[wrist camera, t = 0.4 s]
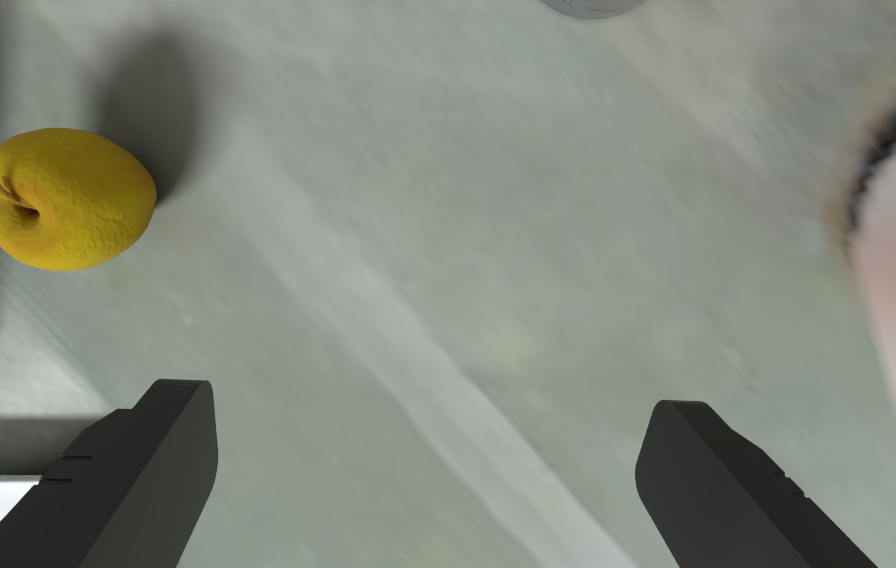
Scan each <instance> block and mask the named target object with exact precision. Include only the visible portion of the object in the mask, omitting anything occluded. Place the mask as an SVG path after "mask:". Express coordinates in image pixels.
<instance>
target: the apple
mask: <svg viewBox="0 0 896 568" xmlns="http://www.w3.org/2000/svg"><path fill="white" fill-rule="evenodd" d="M156 199H157V193H156V186H155V183H154V181H153V179H152V177H151V175H150V174H149V172H148V171H147V170H146V169H145V167H144V166H143V165H142V164H141V163H140V162H139V161H138V160H137V159H136V158H135V157H134V156H133V155H132V154H131V153H130V152H128V151H127V150H125V149H123V148H121V147H119V146H118V145H116V144H115V143H113V142H112V141H110V140H108V139H107V138H104V137H102V136H99V135H97V134H95V133H92V132H87V131H83V130H76V129H69V128H45V129H40V130H35V131H31V132H27V133H23V134H20V135H17V136H14V137H12V138H10V139H9V140H7V141H6V142H5V143H3V144H2V145H1V146H0V247H1V248H2V249H3V250H5V251H6V252H7V253H8V254H10V255H11V256H12V257H14V258H16V259H17V260H19V261H21V262H23V263H25V264H28V265H31V266H34V267H38V268H42V269H47V270H55V271H72V270H81V269H86V268H89V267H93V266H96V265H99V264H102V263H104V262H106V261H108V260H110V259H112V258H114V257H116V256H117V255H119V254H120V253H122V252H123V251H125V250H126V249H128V248H129V247H130V246H132V245H133V244H134V243H135V242H136V241H137V240H138V239H139V238H140V237H141V235H142V234H143V233H144V231H145V230H146V228H147V227H148V224H149V222H150V219H151V217H152V214H153V211H154V207H155V203H156Z"/></svg>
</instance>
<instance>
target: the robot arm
mask: <svg viewBox="0 0 896 568" xmlns="http://www.w3.org/2000/svg"><path fill="white" fill-rule="evenodd" d="M542 1H543V2H544V3H545V4H547V5H548V6H550V7H552V8H554V9H556V10H558V11H560V12H561V13H563V14H566V15H570V16H574V17H579V18H583V19H603V18H607V17H611V16H615V15H620V14H623V13H625V12H627V11H629V10H631V9H633V8H635V7H637V6H639V5H641V4H643V3H644V2H646V1H648V0H542ZM217 465H218V446H217V434H216V423H215V411H214V399H213V390H212V386H211V384H210V382H209V381H203V380H177V379H158V380H157V381H155V382H154V383H153V384H152V385H151V387H150V388H149V389H148V390H147V392H146V393H145V394H144V395H143V396H142V398H141V399H140V400H139V401H138V402H137V404H136V405H135V406H134V407H133V408H132V409H117V410H115V411H113V412H112V413H110V414H109V415H107V416H105V417H104V418H102V419H101V420H99V421H97V422H96V423H94V424H93V425H91V426H89V427H88V428H86V429H84V430H83V432H82V433H81V434H80V435H79V436H78V437H77V438H76V439H75V440H74V441H73V442H72V444H71V445H70V446H69V447H68V448H67V449H66V450H65V451H64V452H63V453H62V454H61V456H60V460H59V461H55V462H54V463H53V464H52V465H51V466H50V468H49V469H48V470H47V471H46V472H45V473H44V474H43V475H42V476H41V477H40V480H39V483H38V485H33V486H32V487H31V488H30V489H29V491H28V492H27V493H26V494H25V495H24V496H23V497H22V498H21V499H20V500H19V501H18V503H17V504H16V505H15V506H14V507H13V508H12V509H11V510H10V511H9V512H8V513H7V515H6V516H5V517H4V518H3V519H2V520H1V521H0V568H176V566H177V564H178V562H179V559H180V557H181V555H182V553H183V551H184V549H185V547H186V544H187V542H188V540H189V538H190V536H191V534H192V532H193V529H194V527H195V525H196V523H197V521H198V519H199V517H200V514H201V512H202V510H203V508H204V506H205V504H206V501H207V499H208V497H209V495H210V493H211V490H212V488H213V485H214V481H215V477H216V472H217ZM635 480H636V486H637V490H638V494H639V496H640V499H641V501H642V502H643V504H644V506H645V508H646V509H647V511H648V513H649V515H650V516H651V518H652V520H653V522H654V523H655V525H656V527H657V529H658V530H659V532H660V534H661V536H662V537H663V539H664V541H665V543H666V544H667V546H668V548H669V550H670V551H671V553H672V555H673V556H674V558H675V560H676V562H677V563H678V565H679V567H680V568H878V567H877V566H876V565H875V564H874V563H873V562H872V561H871V560H870V559H869V558H868V557H867V556H866V555H865V554H864V553H863V552H862V551H861V550H860V549H859V548H858V547H857V546H856V545H855V544H854V543H853V542H852V541H851V540H850V539H849V538H848V537H847V536H846V535H845V534H844V533H843V532H842V530H841V529H840V528H839V527H838V526H837V525H836V524H835V523H834V522H833V521H832V520H831V519H830V518H829V517H828V516H827V515H826V514H825V513H824V512H823V511H822V510H821V509H820V508H819V507H818V506H817V505H816V504H815V503H814V502H813V501H812V500H811V499H810V498H805V496H804V492H803V491H802V490H801V489H800V488H799V487H798V486H797V485H796V484H795V483H794V482H793V481H792V480H791V479H790V478H788V477H785V472H784V471H783V470H782V469H781V468H780V467H779V466H778V465H777V464H776V463H775V462H774V461H773V460H772V459H771V458H770V457H769V456H768V455H767V454H766V453H765V452H764V451H763V450H762V449H760V448H759V447H757V446H756V445H754V444H753V443H752V442H750V441H749V440H747V439H746V438H744V437H743V436H741V435H740V434H738V433H737V432H735V431H734V430H732V429H731V428H730V427H729V426H728V425H727V424H726V423H725V422H724V421H723V420H722V419H721V418H720V416H719V415H718V414H717V413H716V412H715V411H714V410H713V409H712V408H711V407H710V406H709V405H708V404H706V403H704V402H701V401H678V400H661V401H659V402H658V403H657V404H656V406H655V407H654V410H653V412H652V416H651V419H650V422H649V425H648V428H647V431H646V435H645V438H644V441H643V444H642V447H641V450H640V454H639V457H638V460H637V463H636V469H635Z"/></svg>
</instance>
